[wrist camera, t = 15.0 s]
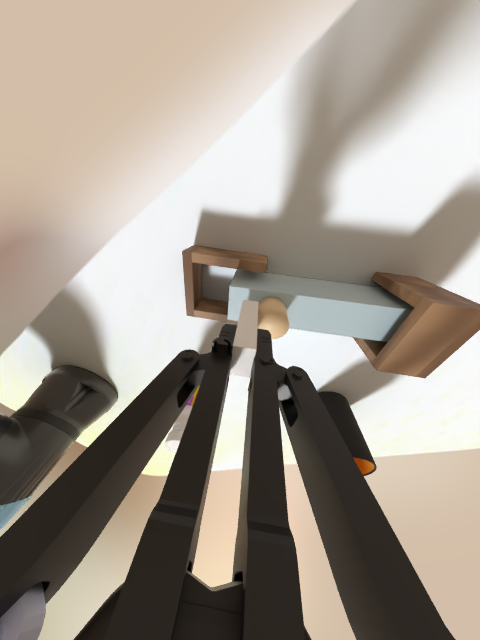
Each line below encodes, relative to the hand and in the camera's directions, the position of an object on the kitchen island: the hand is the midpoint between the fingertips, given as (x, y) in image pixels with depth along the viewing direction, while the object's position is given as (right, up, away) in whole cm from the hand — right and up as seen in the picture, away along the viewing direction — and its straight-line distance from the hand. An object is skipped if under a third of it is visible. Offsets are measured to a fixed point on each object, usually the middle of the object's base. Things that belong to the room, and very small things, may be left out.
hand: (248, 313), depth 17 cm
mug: (+15, -19, +19) cm, 30 cm away
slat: (+8, +3, +6) cm, 10 cm away
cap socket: (+17, +1, +6) cm, 18 cm away
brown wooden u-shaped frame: (-3, +4, +6) cm, 8 cm away
